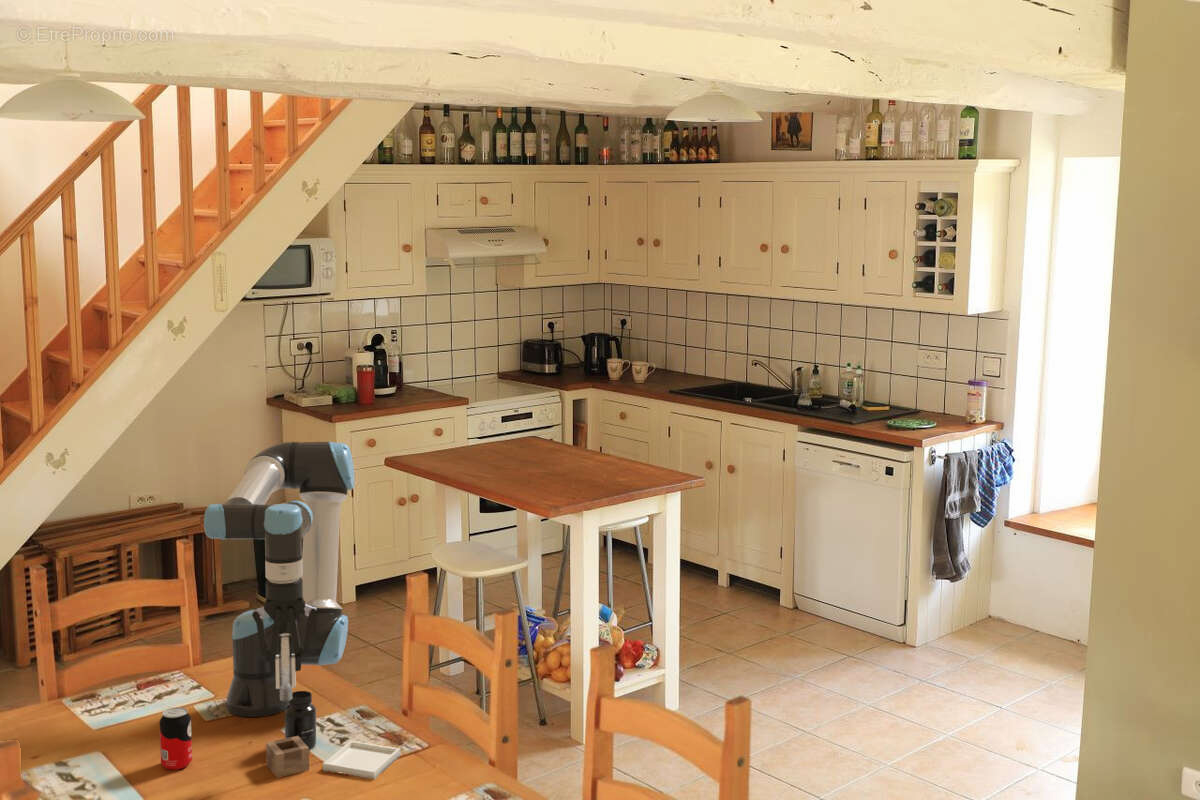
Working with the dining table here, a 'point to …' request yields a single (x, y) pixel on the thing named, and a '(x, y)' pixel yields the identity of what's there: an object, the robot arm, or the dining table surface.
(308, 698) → the supplement bottle
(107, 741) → the dining table surface
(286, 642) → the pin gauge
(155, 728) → the dining table surface
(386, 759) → the tray
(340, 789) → the dining table surface
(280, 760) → the brown peg holder block
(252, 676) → the robot arm
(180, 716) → the beverage can
